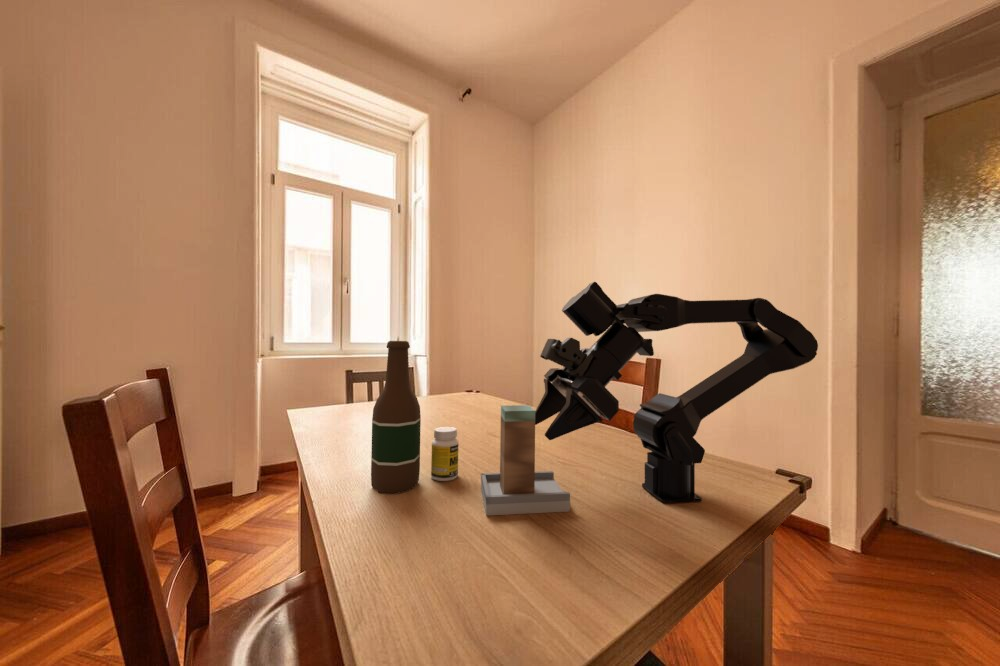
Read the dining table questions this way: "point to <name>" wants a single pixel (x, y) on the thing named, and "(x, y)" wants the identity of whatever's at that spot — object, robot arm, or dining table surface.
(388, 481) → the beer bottle
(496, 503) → the tray
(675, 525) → the dining table surface
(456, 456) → the supplement bottle
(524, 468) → the green-topped wooden block
